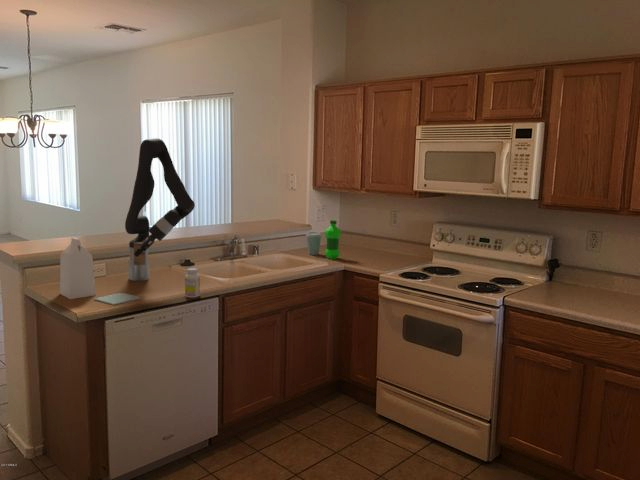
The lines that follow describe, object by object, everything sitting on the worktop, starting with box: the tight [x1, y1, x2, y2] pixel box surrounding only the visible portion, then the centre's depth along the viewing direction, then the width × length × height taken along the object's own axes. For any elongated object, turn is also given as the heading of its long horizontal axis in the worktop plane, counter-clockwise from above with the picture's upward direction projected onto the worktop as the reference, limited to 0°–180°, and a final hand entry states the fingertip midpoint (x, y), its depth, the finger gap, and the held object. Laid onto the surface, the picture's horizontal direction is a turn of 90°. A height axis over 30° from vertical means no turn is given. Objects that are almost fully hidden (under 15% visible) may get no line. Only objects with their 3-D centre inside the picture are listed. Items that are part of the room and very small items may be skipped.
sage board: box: [93, 292, 142, 306], centre depth 240 cm, size 14×14×1 cm
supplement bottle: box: [184, 267, 201, 299], centre depth 248 cm, size 7×7×13 cm
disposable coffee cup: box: [305, 231, 322, 256], centre depth 365 cm, size 11×11×15 cm
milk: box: [59, 237, 97, 300], centre depth 244 cm, size 12×12×26 cm
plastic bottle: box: [324, 219, 342, 260], centre depth 351 cm, size 10×10×25 cm
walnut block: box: [134, 242, 145, 265], centre depth 253 cm, size 5×5×10 cm
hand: (135, 254), depth 253 cm, fingers closed on walnut block, 5 cm apart
